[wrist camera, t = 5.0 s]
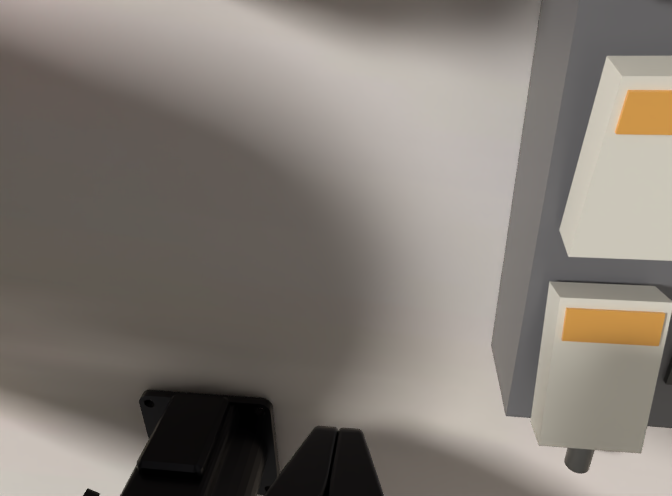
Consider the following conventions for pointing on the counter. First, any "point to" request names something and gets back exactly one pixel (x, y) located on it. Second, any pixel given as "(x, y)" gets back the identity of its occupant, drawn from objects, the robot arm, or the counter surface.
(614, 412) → the block
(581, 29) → the power strip
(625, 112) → the block
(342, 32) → the counter surface
